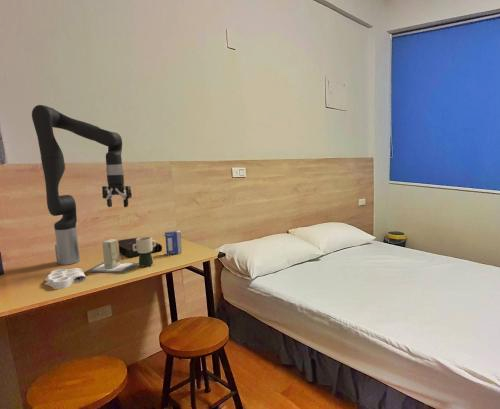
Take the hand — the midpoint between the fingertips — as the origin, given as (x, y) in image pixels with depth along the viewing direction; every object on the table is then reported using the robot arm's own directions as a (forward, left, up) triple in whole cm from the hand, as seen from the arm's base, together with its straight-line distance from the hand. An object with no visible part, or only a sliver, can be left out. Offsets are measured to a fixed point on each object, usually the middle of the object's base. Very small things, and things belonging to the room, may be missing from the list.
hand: (118, 206), depth 159 cm
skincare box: (+3, -13, -26) cm, 29 cm away
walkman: (+23, +10, -27) cm, 37 cm away
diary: (-1, +15, -27) cm, 31 cm away
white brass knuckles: (-8, -30, -27) cm, 41 cm away
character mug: (+17, -9, -27) cm, 33 cm away
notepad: (+3, -13, -27) cm, 30 cm away
